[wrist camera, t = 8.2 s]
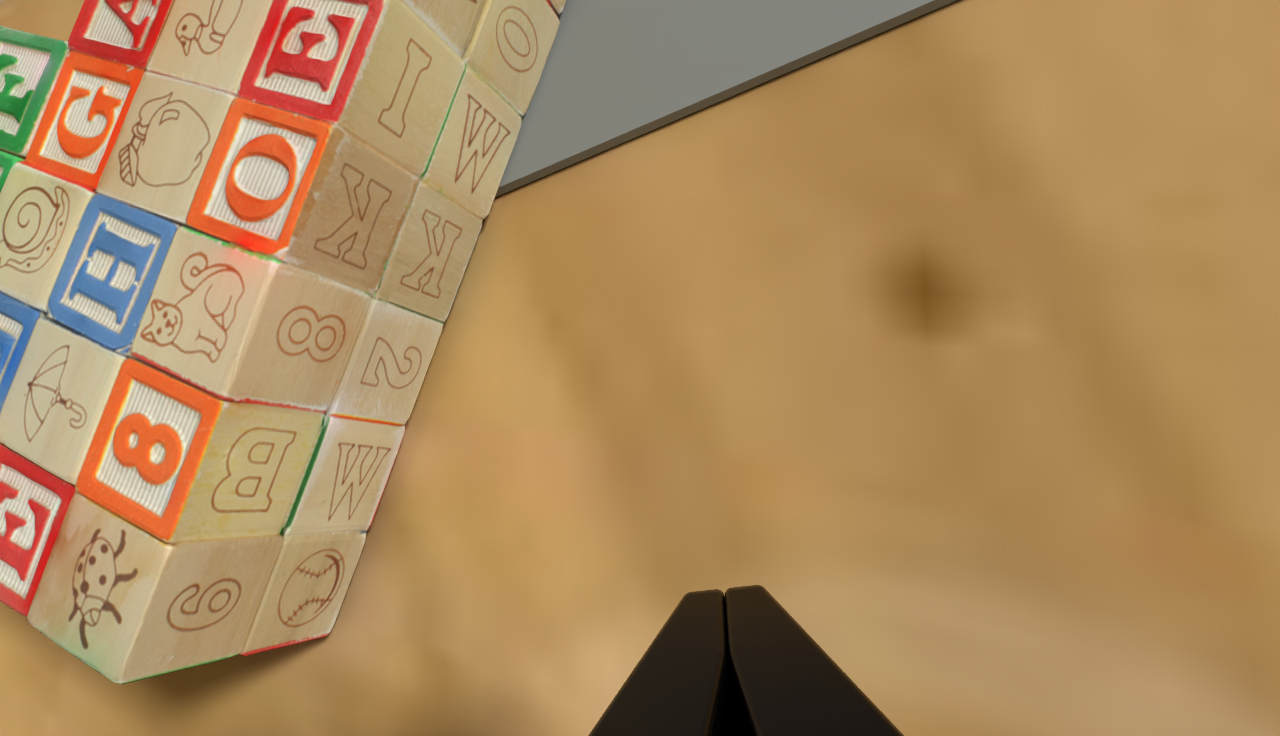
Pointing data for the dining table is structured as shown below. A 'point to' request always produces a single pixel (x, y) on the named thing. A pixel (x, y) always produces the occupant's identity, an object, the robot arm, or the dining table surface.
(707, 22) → the mat
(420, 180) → the stack of blocks
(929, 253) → the dining table surface
